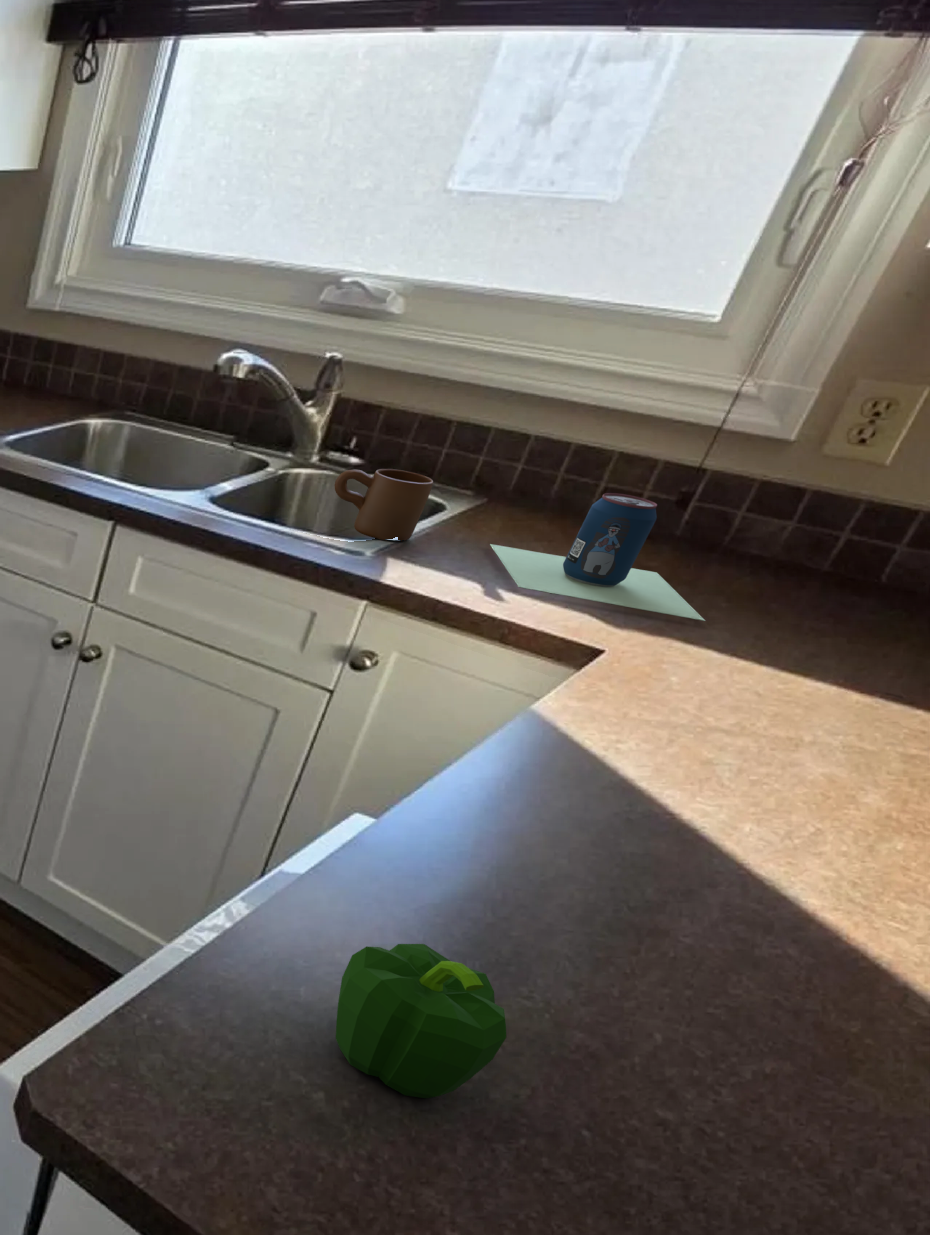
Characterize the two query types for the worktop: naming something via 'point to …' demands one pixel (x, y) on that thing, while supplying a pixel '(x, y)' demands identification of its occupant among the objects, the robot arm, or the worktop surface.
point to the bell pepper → (417, 1019)
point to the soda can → (610, 539)
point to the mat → (631, 592)
